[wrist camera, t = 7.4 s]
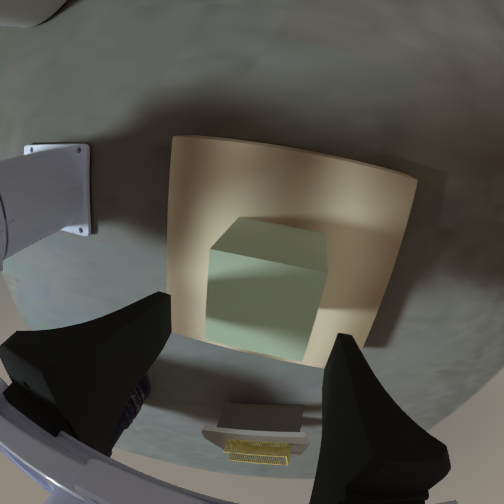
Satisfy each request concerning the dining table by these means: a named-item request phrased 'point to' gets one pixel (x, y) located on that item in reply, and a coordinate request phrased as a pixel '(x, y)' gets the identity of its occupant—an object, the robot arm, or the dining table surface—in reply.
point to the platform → (259, 431)
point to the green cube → (265, 287)
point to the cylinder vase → (27, 12)
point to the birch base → (289, 214)
